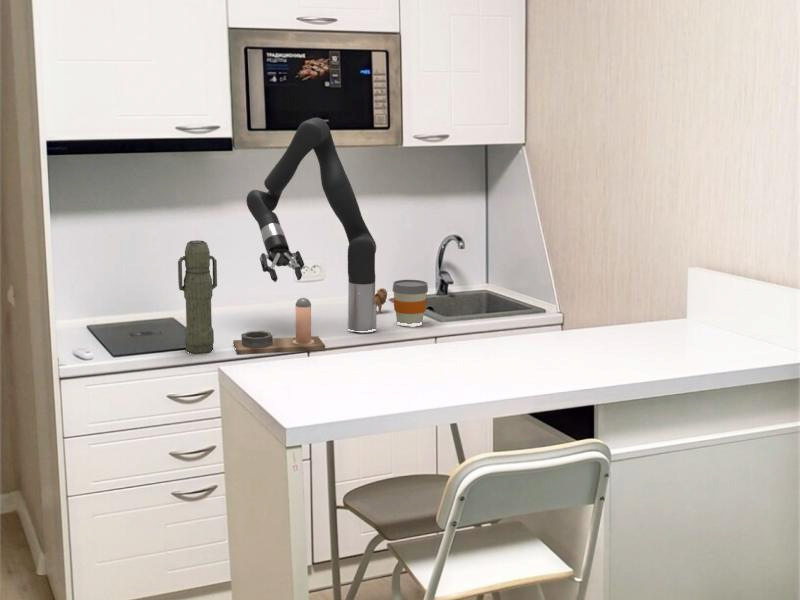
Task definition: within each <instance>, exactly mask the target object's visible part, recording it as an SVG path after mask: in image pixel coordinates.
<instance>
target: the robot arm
mask: <svg viewBox="0 0 800 600" xmlns="http://www.w3.org/2000/svg"><path fill="white" fill-rule="evenodd" d="M312 150H313V151H314V153H315V156H316V159H317V160H318V161H317V162H318V164H319V165H318V166H319V172H320V173H319V175H320V182H321V187H322V190H323V192H324V195H325V197H326V199H327V202H328V204H329V206H330V208H331V210H332V212H333V214H335V216H336V217H337V218H338V220H339V222H340V223H341V225H342V227H343V229H344V231H345V234H346V238H347V241H348V247H347V277H348V282H347V283H348V287H347V288H348V292H347V294H348V298H347V299H348V302H347V305H348V307H347V308H348V309H347V315H348V316H347V330H348V329H350V330H354V331H368V330H372V329H376V330H377V313H378V309H377V308H378V306H376V304H375V295H376V251H377V244H376V243H377V242H376V241H375V239H374V237H373V235H372V234H371V231H370V230H369V228H368V227H367V224H366V222H365V220H364V219H363V216H362V212H361V209H360V206H359V203H358V201H357V198H356V195H355V191H354V190H353V186H352V184H351V182H350V179H349V178H348V175H347V174H346V171H345V169H344V166H343V164H342V162H341V159H340V157H339V154H338V152H337V149H336V146H335V142H334V139H333V136H332V133H331V130H330V127H329V124H327V122H326V121H325V120H324V119H322V118H320V117H311V118H310V119H307V120H305V121H303V122H301V123H300V124H299V125H298V128H297V130H296V132H295V133H294V136H293V137H292V139H291V142H290V143H289V146H287V148H286V149H285V152H284V153H283V155H282V156H281V157H280V159H279V160H278V162H277V163H276V164H275V166H274V167H273V168H272V169H271V170H270V172H269V174H268V175H267V176H266V178H265V179H264V182H263V183H264V184H263V185H264V187H265V189H267V192H265V191H263V190H259V189H253V190H250V191H249V192H248V194H247V196H246V201H245V202H246V205H247V209H248V211H249V212H250V213H251V216H252V217H253V218H254V220H255V222H256V223H257V224H258V227H259V230H260V235H261V239H262V242H263V245H264V247H265V251H266V254H265V253H264V252H262V253H261V254H260V257H259V260H260V264H261V265H260V266H261V270H262V271H263V272H264V273H266V272H267V273H268V274H269V275H270V279H271V280H272V281H273V282H274V283H276V282H277V281H278V278H279V277H278V274H277V272H276V269H275V266H276V267H279V268H280V267H288V268H289V269H292V270H294V274H295V276H296V280H297V281H300V280H301V279H302V277H303V273H302V270H303V268H304V266H305V262H304V260H303V257H302V255H301V252H300V251H298V250H296V251H295V252H291V251H290V248H289V247H290V246H289V244H288V242H287V241H288V240H287V238H286V235H285V232H284V230H283V228H282V225H281V223H280V220H279V217H278V216H277V215H278V214H276V213H275V212H274V210H275V209H277V206H278V204H279V201H280V198H281V196H282V193H283V191H284V189H286V187H287V185H288V184H289V183H290V182H291V180H292V179H293V177H294V176H295V175H296V172H297V170H298V167H299V165H300V163H301V162H302V161H303V159H304V158H305V157H306V156H307V155H308V154H309V153H310V152H311V151H312ZM268 260H269V261H270V262H271V265H270V266H269V265H268ZM376 312H377V313H376Z"/></svg>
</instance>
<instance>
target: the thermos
mask: <svg viewBox="0 0 800 600" xmlns="http://www.w3.org/2000/svg"><path fill="white" fill-rule="evenodd" d="M210 253H211V252H210V248H209V245H208V243H207V242H206V241H204V240H199V239H198V240H197V239H196V240H190V241H189V242H187V243H186V245H185V249H184V255H183V256H180V258H178V261H177V276H178V277H177V278H178V279H177V280H178V289H179V290H180V291H182V292H183V298H184V300H185V316H186V317H185V322H186V323H185V324H186V325H185V329H184V343H185V352H186V351H187V352H189V353H188V354H190V353H191V355H206V354H211V353H212V352H211V351H212V350H213V351H214V343H215V341H214V339H215V337H214V335H215V334H214V329H213V328H214V327H213V326H212V325H213V324H212V323H213V322H212V321H213V320H212V298H213V296H214V295H213V290H214V289H215V288H217V287H218V271H217V270H218V269H217V268H218V267H217V262H218V261H217V259H216V258H215V257H214V256H213V255H210ZM210 260H211V261H212V276H211V269H210V267H211V266H210V265H211V264H210V263H211V261H210ZM183 261H184V267H185V274H184V277H183ZM187 352H186V353H187Z"/></svg>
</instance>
